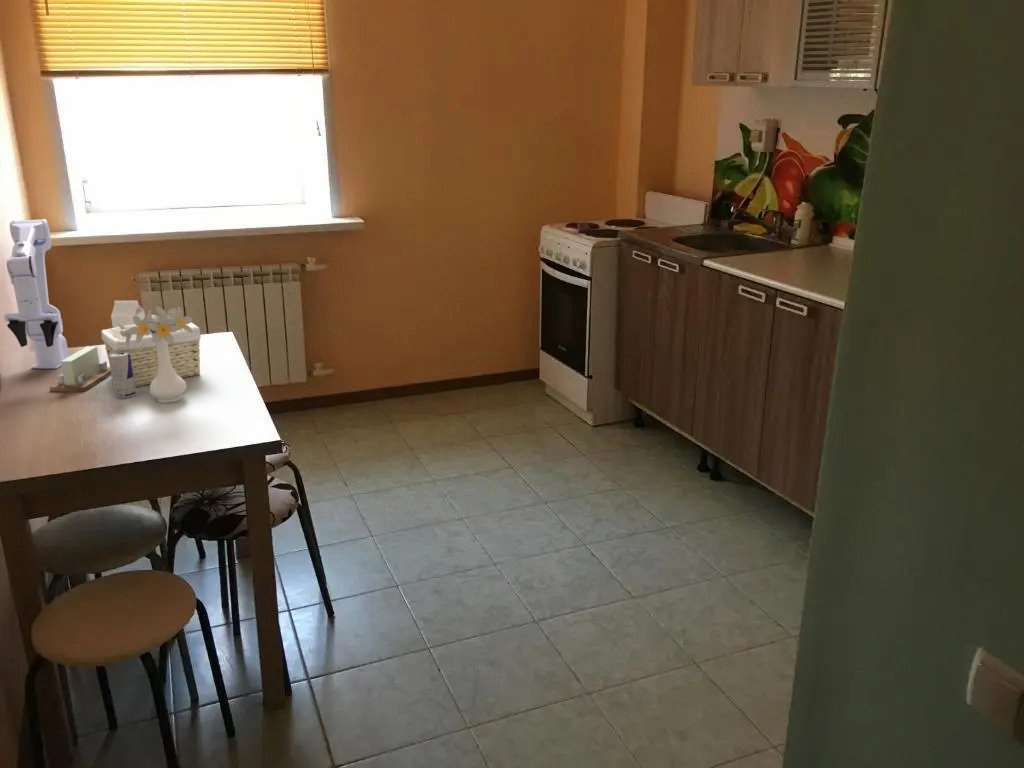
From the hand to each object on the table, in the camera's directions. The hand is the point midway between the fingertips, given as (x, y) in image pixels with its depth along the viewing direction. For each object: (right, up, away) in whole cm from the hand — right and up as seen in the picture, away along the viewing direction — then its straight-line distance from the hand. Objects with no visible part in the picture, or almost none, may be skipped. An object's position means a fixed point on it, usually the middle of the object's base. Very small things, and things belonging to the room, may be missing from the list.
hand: (37, 345), depth 245 cm
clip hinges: (+12, -9, +3) cm, 15 cm away
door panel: (+12, -9, +2) cm, 15 cm away
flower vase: (+42, -15, -13) cm, 47 cm away
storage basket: (+32, -9, +6) cm, 34 cm away
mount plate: (+12, -10, +3) cm, 16 cm away
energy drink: (+29, -14, -9) cm, 34 cm away
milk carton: (+19, -4, +21) cm, 28 cm away
